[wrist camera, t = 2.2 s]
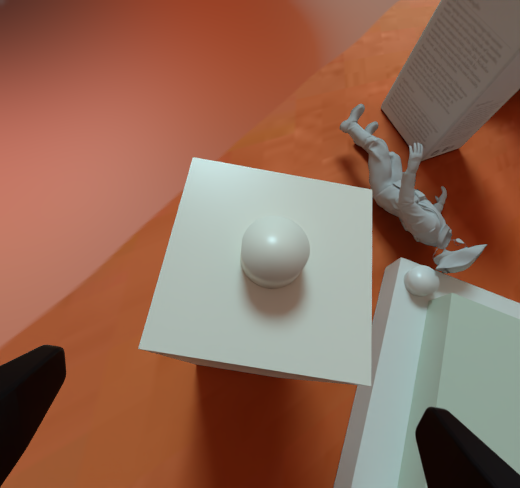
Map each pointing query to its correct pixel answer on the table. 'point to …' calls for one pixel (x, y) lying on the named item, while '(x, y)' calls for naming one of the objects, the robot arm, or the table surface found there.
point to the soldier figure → (408, 195)
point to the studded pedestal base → (432, 375)
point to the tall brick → (267, 276)
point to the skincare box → (457, 74)
